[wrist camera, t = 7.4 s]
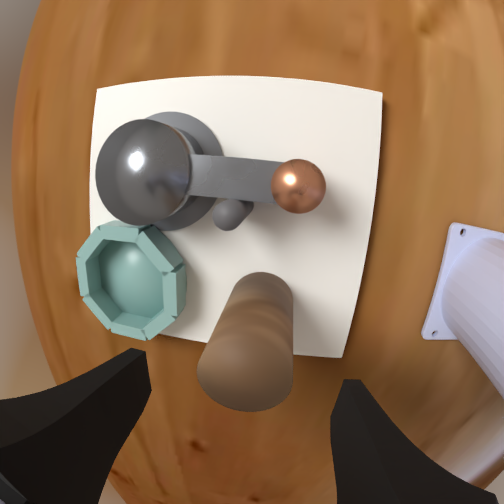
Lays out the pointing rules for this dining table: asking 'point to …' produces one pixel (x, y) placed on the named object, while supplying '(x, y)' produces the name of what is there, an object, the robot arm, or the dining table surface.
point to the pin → (251, 346)
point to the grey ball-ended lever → (191, 175)
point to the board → (257, 213)
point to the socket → (132, 279)
